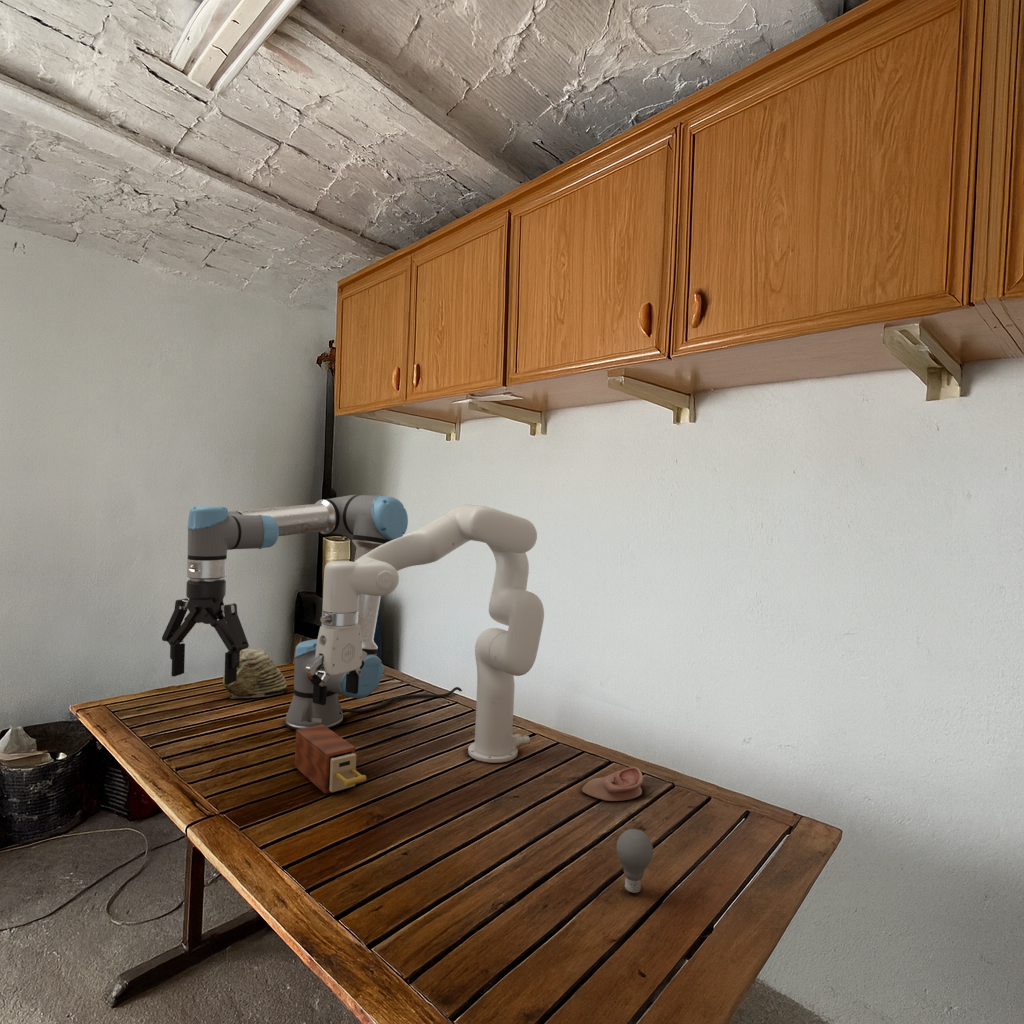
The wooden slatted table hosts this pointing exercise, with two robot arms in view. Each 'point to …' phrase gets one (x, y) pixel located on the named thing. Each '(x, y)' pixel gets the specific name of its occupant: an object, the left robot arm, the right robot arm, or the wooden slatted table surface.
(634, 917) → the wooden slatted table surface
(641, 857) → the light bulb
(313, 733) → the cabinet
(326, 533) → the left robot arm
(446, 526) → the right robot arm
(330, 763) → the drawer
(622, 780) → the anatomical model
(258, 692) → the fossil
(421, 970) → the wooden slatted table surface
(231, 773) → the wooden slatted table surface
